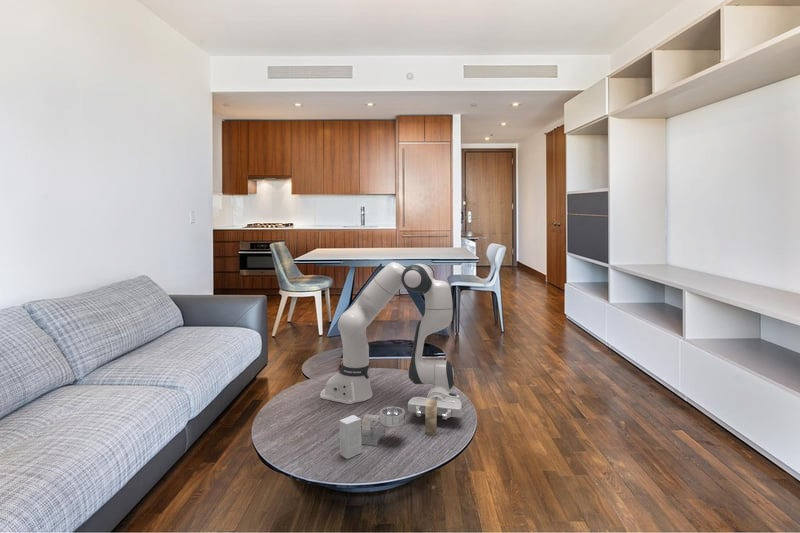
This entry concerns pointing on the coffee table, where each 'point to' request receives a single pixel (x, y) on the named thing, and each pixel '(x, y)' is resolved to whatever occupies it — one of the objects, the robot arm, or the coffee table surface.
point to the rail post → (431, 417)
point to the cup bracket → (387, 418)
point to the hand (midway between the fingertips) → (431, 416)
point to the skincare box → (350, 436)
